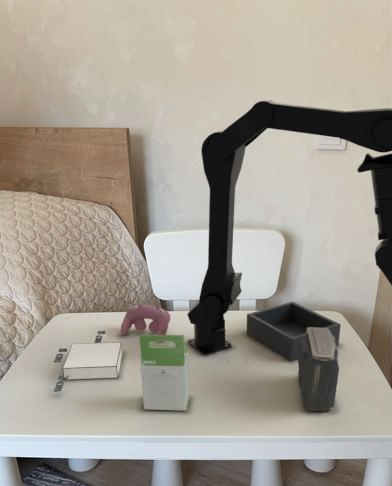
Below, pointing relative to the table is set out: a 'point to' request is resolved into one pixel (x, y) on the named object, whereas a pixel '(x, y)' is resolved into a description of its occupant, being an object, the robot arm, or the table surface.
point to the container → (91, 361)
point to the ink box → (164, 373)
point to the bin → (286, 327)
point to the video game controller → (146, 312)
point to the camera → (318, 368)
